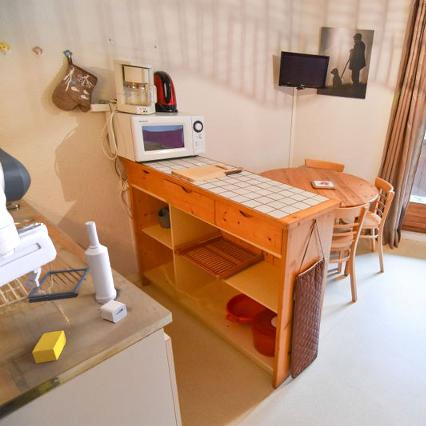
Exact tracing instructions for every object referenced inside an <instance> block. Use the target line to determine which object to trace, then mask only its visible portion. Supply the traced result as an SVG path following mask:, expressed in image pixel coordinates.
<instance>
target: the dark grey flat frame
mask: <svg viewBox="0 0 426 426" xmlns="http://www.w3.org/2000/svg"><path fill="white" fill-rule="evenodd" d="M74 272H75V273H76V272H83V274H82V276H81V277H80V279H79V280H78V282H77V284H76V286H75V287H74V289H73V290H70V291H62V292H52V293H44V294H36V293H37V291H38V290H39V289H40V288H41V286H42V285H43V284H44V282H45V281H46V280H47V278H49V276H50V275H54V274H63V273H74ZM88 272H90V270H89V267H84V268H73V269H63V270H51V271H47V272H46V273H45V275H44V276H43V277H42V279H41V280H40V281H39V286H38V287H36V288H35V289H33V290H32V292H31V293H30V294H29V295H28V296H27V299H28V301H29V303H30V304H31V303H41V302H49V301H57V300H64V299H67V300H68V299H74V298H75V299H76V298H77V297H78V295H79V293H77V292H78V290H79V288H80V286H81V285H82V283H83V281H84V280H85V278H86V276H87V274H88Z"/></svg>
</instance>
